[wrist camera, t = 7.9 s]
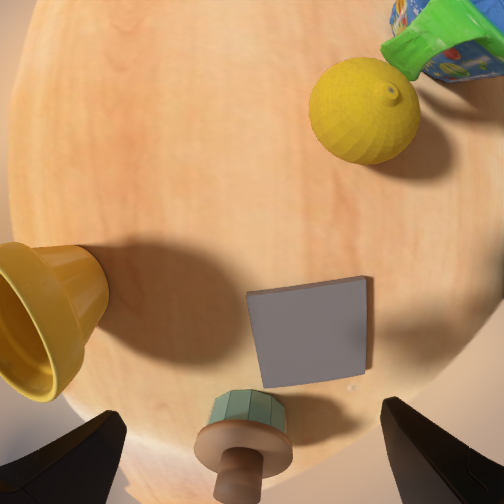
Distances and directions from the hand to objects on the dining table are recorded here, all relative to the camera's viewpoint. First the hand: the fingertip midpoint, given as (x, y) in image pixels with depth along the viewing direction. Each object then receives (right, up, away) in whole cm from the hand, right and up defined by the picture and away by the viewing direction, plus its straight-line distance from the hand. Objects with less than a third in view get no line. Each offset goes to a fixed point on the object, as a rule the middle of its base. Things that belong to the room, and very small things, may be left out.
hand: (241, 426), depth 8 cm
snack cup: (+14, +22, +6) cm, 26 cm away
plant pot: (-14, +3, +13) cm, 19 cm away
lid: (0, -10, +11) cm, 15 cm away
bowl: (0, -9, +15) cm, 17 cm away
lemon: (+6, +14, +9) cm, 17 cm away
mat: (+5, -1, +12) cm, 13 cm away
